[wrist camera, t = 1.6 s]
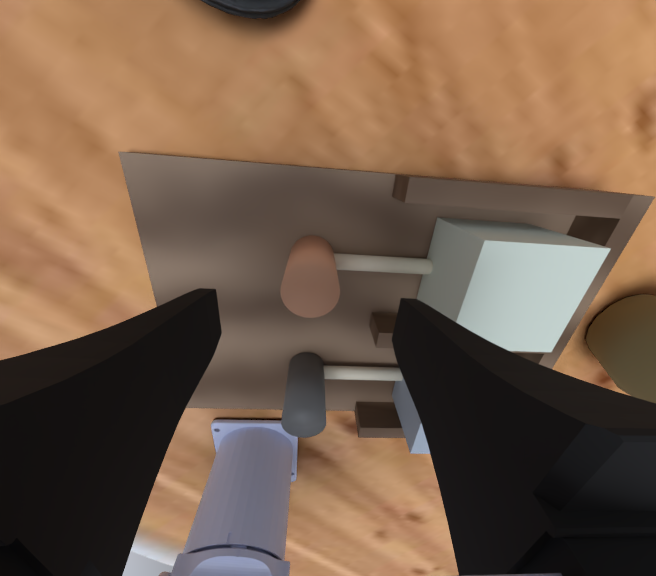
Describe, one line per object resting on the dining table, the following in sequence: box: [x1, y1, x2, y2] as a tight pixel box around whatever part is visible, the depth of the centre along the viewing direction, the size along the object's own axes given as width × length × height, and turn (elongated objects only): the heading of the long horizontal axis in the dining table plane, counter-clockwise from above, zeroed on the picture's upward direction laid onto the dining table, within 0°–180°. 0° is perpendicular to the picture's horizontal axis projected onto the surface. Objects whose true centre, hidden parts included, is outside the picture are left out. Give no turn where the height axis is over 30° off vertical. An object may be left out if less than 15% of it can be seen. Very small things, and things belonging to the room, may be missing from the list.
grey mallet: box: [281, 352, 430, 454], centre depth 19 cm, size 6×15×5 cm, turn 86°
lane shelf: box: [119, 152, 655, 438], centre depth 18 cm, size 20×28×3 cm
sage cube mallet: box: [280, 217, 611, 352], centre depth 15 cm, size 6×15×5 cm, turn 86°
